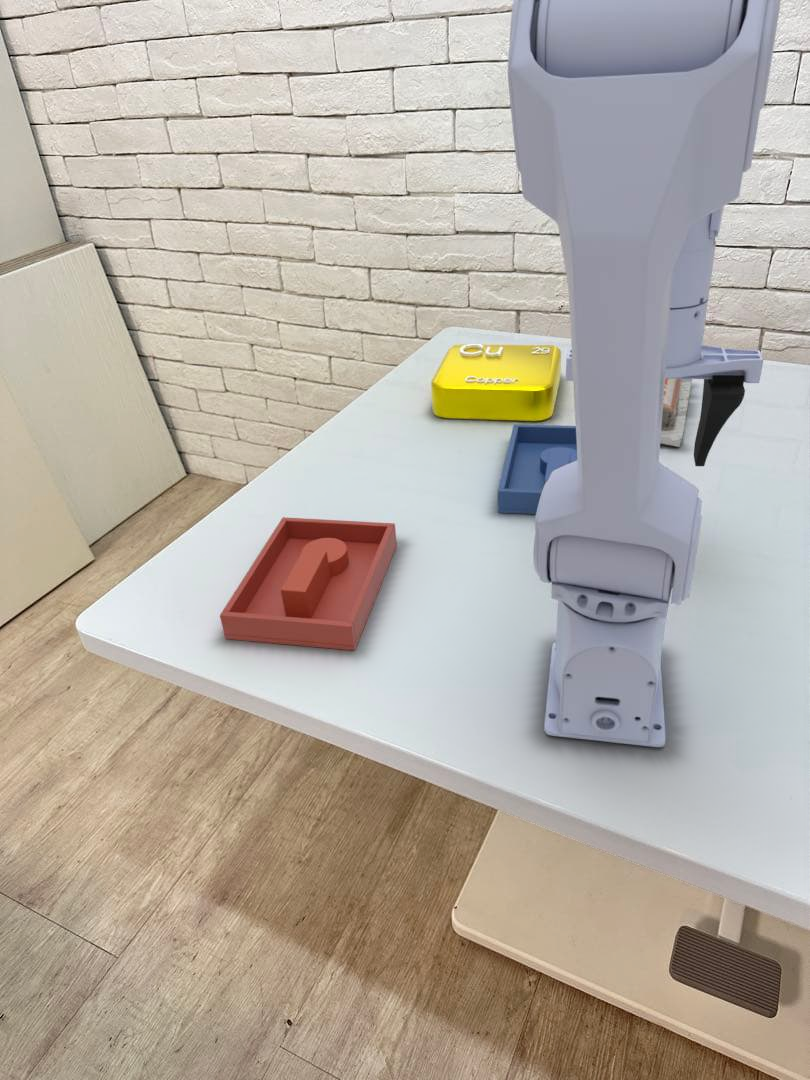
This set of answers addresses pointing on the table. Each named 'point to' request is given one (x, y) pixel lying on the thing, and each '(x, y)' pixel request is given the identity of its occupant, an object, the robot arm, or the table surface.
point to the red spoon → (313, 575)
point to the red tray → (343, 601)
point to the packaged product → (674, 410)
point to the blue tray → (529, 465)
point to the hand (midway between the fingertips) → (650, 459)
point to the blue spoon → (556, 459)
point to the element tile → (497, 382)
